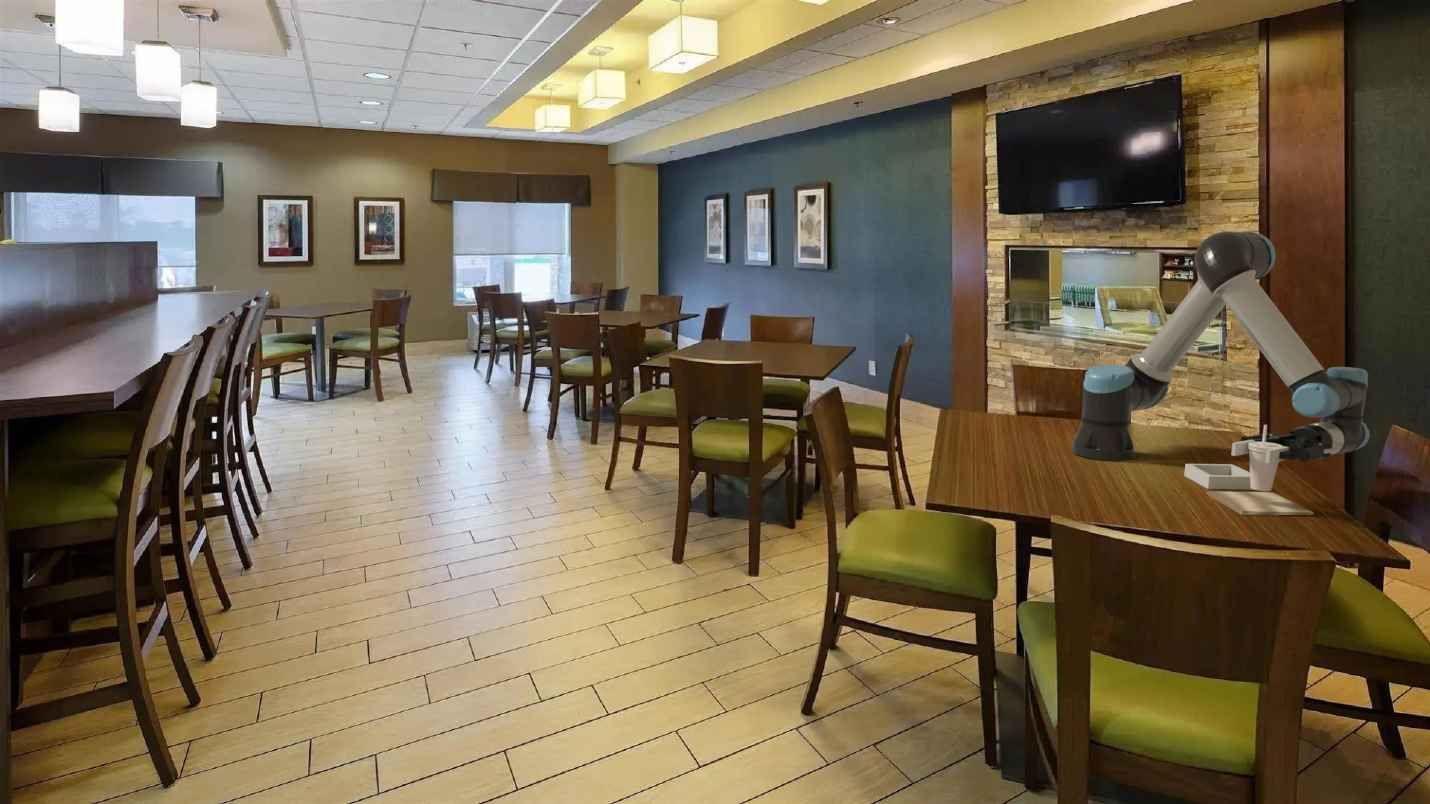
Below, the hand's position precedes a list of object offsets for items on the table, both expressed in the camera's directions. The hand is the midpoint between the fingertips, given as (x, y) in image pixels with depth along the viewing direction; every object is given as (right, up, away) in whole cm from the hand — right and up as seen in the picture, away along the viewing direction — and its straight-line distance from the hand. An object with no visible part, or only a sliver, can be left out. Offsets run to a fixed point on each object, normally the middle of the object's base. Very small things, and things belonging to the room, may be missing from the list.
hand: (1250, 453), depth 170 cm
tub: (+7, -8, +21) cm, 24 cm away
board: (+5, -12, +5) cm, 13 cm away
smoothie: (+5, -8, +4) cm, 10 cm away
